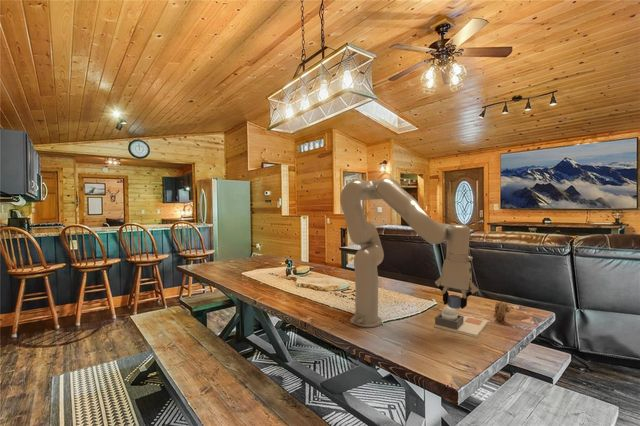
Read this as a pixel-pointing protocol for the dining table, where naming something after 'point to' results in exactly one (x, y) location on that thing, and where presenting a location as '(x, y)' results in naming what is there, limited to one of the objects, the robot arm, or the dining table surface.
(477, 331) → the game board
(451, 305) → the decorative dice
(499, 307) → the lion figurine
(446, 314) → the dome button
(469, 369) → the dining table surface
